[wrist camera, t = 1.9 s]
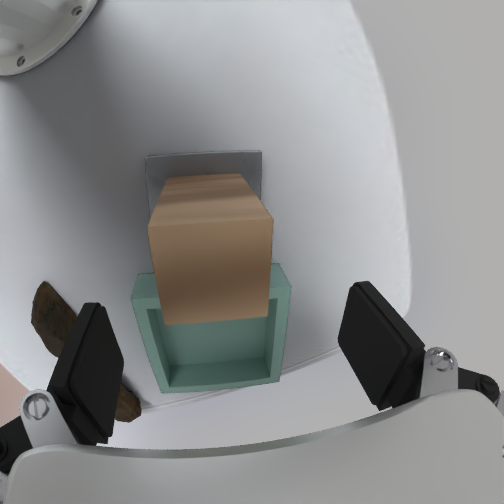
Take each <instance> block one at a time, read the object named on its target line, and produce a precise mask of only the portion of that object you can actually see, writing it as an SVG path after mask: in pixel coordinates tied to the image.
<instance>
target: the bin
mask: <svg viewBox="0 0 504 504" xmlns="http://www.w3.org/2000/svg"><path fill="white" fill-rule="evenodd" d="M290 293H291V285H290V283H289V281H288V279H287V277H286V275H285V274H284V272H283V270H282V268H281V266H280V264H279V263H278V264H271V272H270V290H269V306H268V316H263V317H254V318H245V319H235V320H225V321H214V322H202V323H189V324H175V325H165V323H164V319H163V314H162V309H161V305H160V300H159V295H158V290H157V285H156V279H155V274H154V273H148V274H138V275H137V278H136V282H135V285H134V289H133V293H132V296H131V302H132V306H133V309H134V313H135V316H136V320H137V323H138V327H139V330H140V333H141V336H142V340H143V343H144V346H145V349H146V352H147V355H148V358H149V361H150V364H151V366H152V369H153V372H154V375H155V377H156V380H157V383H158V385H159V388H160V391H161V393H183V392H198V391H211V390H221V389H231V388H239V387H247V386H254V385H261V384H268V383H274V382H279V380H280V373H281V366H282V358H283V351H284V343H285V336H286V327H287V319H288V311H289V302H290Z"/></svg>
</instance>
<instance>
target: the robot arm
mask: <svg viewBox="0 0 504 504" xmlns="http://www.w3.org/2000/svg"><path fill="white" fill-rule="evenodd" d="M96 3H97V0H0V75H7V76H8V75H15V74H19V73H22V72H25V71H28V70H30V69H32V68H34V67H35V66H37V65H39V64H41V63H42V62H44V61H45V60H46V59H48V58H49V57H51V56H52V55H53V54H55V53H56V52H57V51H58V50H59V49H60V48H61V47H62V46H64V45H65V44H66V43H67V42H68V41H69V39H70V38H71V37H72V36H73V35H74V34H75V33H76V32H77V31H78V29H79V28H80V27H81V26H82V24H83V23H84V22H85V21H86V19H87V18H88V16H89V14H90V13H91V11H92V10H93V8H94V7H95V5H96ZM80 12H81V13H80ZM79 13H80V14H79ZM338 343H339V346H340V348H341V349H342V351H343V353H344V355H345V356H346V358H347V360H348V362H349V363H350V365H351V367H352V369H353V371H354V372H355V374H356V376H357V378H358V379H359V381H360V383H361V385H362V387H363V388H364V390H365V392H366V394H367V396H368V397H369V399H370V401H371V403H372V404H373V405H376V406H377V408H378V410H379V411H380V410H384V409H386V408H389V407H391V406H392V408H393V409H390V410H387V411H384V412H381V413H379V414H376V415H373V416H370V417H367V418H364V419H361V420H358V421H354V422H351V423H348V424H344V425H341V426H338V427H334V428H330V429H326V430H322V431H318V432H314V433H309V434H305V435H301V436H296V437H291V438H286V439H281V440H275V441H269V442H262V443H256V444H248V445H240V446H231V447H220V448H208V449H207V448H206V449H184V450H153V449H128V448H113V447H102V446H96V444H97V443H102V444H108V437H111V436H112V434H113V426H114V420H115V413H116V406H117V400H118V394H119V388H120V383H121V377H122V372H123V367H124V359H123V356H122V353H121V350H120V348H119V345H118V343H117V340H116V337H115V334H114V332H113V329H112V326H111V323H110V320H109V317H108V314H107V311H106V308H105V307H104V306H101V304H100V303H98V302H96V303H84V305H83V307H82V309H81V311H80V313H79V315H78V317H77V319H76V321H75V324H74V326H73V328H72V330H71V332H70V335H69V337H68V339H67V340H66V342H65V344H64V347H63V349H62V351H61V354H60V356H59V359H58V361H57V364H56V366H55V369H54V371H53V374H52V376H51V379H50V382H49V385H48V387H47V390H42V389H37V390H33V391H30V392H29V393H28V394H26V395H25V396H24V398H23V399H22V401H21V403H20V408H19V410H20V416H18V417H17V418H15V419H14V420H12V421H10V422H9V423H7V424H5V425H4V426H2V427H1V428H0V504H504V391H501V392H500V391H499V387H498V385H497V383H496V382H495V381H494V380H493V379H492V378H491V377H489V376H486V375H483V374H479V373H476V372H473V371H469V370H465V369H462V368H459V367H458V364H457V360H456V358H455V356H454V355H453V354H452V353H451V352H450V351H448V350H446V349H444V348H440V347H434V348H431V349H428V351H427V352H426V351H425V350H424V347H425V345H424V343H423V342H422V341H421V340H420V338H419V337H418V336H417V335H416V334H415V332H414V331H413V330H412V329H411V328H410V327H409V325H408V324H407V323H406V322H405V321H404V320H403V318H402V317H401V316H400V315H399V314H398V313H397V312H396V310H395V309H394V308H393V307H392V306H391V305H390V304H389V302H388V301H387V300H386V299H385V298H384V297H383V296H382V295H381V294H380V292H379V291H378V290H377V289H376V288H375V287H374V286H373V285H372V284H371V283H370V282H369V281H362V282H356V283H354V284H353V286H352V287H350V289H349V293H348V298H347V302H346V307H345V311H344V315H343V319H342V323H341V327H340V331H339V335H338Z"/></svg>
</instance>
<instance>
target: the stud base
mask: <svg viewBox="0 0 504 504" xmlns="http://www.w3.org/2000/svg"><path fill="white" fill-rule="evenodd" d="M261 161H262V152H261V151H259V150H243V151H210V152H192V153H178V154H166V155H155V156H147V157H146V158H145V169H146V181H147V192H148V201H149V210H150V219H151V216H152V213H153V211H154V208H155V206H156V204H157V201H158V199H159V196H160V194H161V192H162V189H163V187H164V185H165V182H166V180H167V178H169V177H182V176H196V175H214V174H238V173H240V174H241V175H242V177H243V178H244V179H245V181H246V182H247V184H248V185H249V186H250V188H251V189H252V190H253V192H254V193H255V194H256V196H257V197H258V198H259V200H260V201H261Z"/></svg>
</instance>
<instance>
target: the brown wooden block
mask: <svg viewBox="0 0 504 504" xmlns="http://www.w3.org/2000/svg"><path fill="white" fill-rule="evenodd" d="M147 230H148V237H149V243H150V250H151V256H152V262H153V268H154V274H155V279H156V285H157V290H158V295H159V300H160V305H161V309H162V314H163V319H164V323H165V325H175V324H189V323H202V322H214V321H225V320H235V319H245V318H254V317H263V316H268V306H269V290H270V272H271V254H272V234H273V218H272V216H271V215H270V214H269V212H268V211H267V209H266V208H265V207H264V205H263V204H262V203H261V201H260V200H259V198H258V197H257V196H256V194H255V193H254V192H253V190H252V189H251V188H250V186H249V185H248V184H247V182H246V181H245V179H244V178H243V177H242V175H241V174H240V173H238V174H214V175H196V176H182V177H169V178H167V180H166V182H165V185H164V187H163V189H162V192H161V194H160V196H159V199H158V201H157V204H156V206H155V208H154V211H153V213H152V216H151V219H150V221H149V224H148V226H147Z"/></svg>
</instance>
